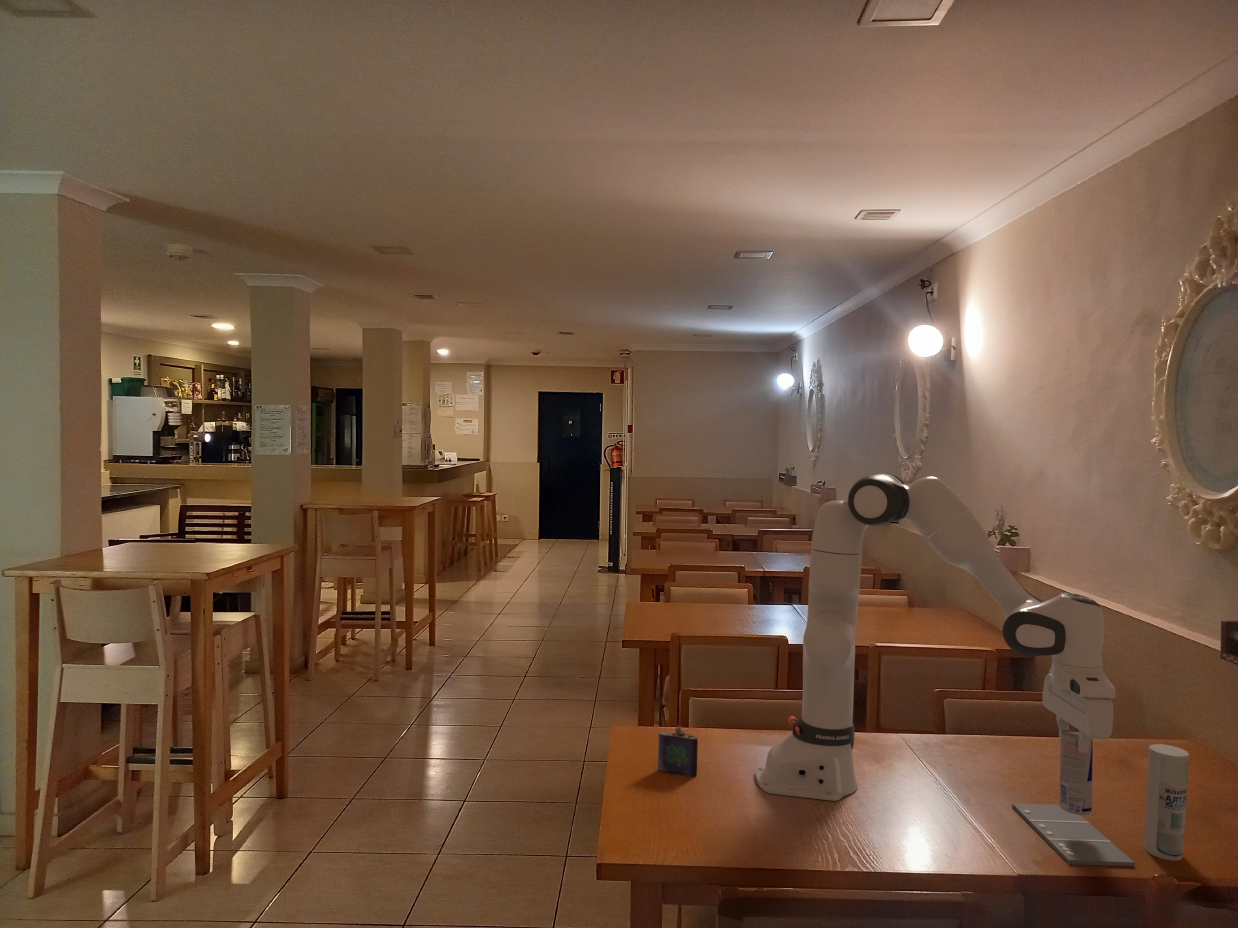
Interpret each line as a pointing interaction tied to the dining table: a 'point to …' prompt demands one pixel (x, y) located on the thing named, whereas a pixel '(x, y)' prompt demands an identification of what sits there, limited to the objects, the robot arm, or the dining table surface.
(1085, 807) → the beverage can
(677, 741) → the flask
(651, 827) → the dining table surface
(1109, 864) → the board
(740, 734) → the dining table surface
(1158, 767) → the spray can
